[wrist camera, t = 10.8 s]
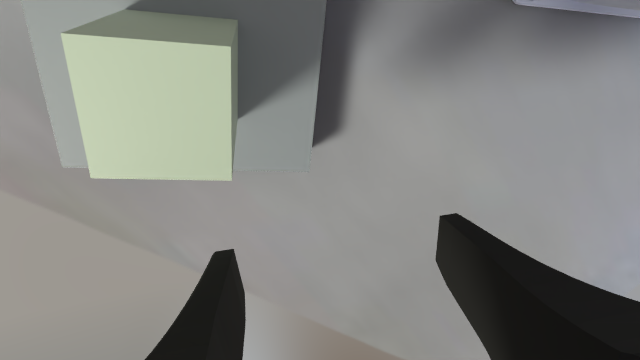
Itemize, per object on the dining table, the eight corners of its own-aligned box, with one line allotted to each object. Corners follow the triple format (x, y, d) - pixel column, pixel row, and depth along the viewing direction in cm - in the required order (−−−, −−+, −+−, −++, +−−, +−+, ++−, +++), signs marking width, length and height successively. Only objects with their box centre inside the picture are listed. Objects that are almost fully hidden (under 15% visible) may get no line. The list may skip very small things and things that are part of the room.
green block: (237, 19, 16) (230, 46, 11) (237, 119, 18) (231, 180, 13) (124, 9, 16) (60, 33, 10) (138, 115, 18) (91, 178, 13)
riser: (321, -42, 18) (331, -43, 16) (303, 152, 23) (309, 172, 21) (34, -78, 16) (-1, -84, 14) (82, 145, 20) (62, 167, 18)
